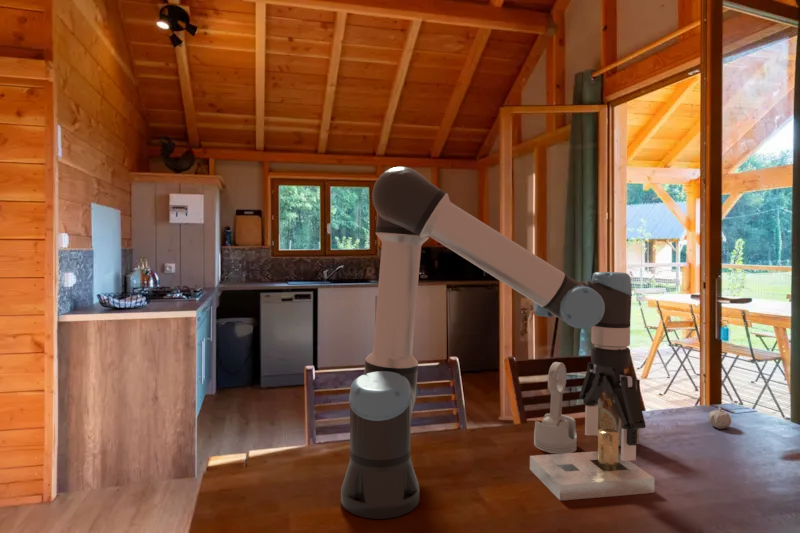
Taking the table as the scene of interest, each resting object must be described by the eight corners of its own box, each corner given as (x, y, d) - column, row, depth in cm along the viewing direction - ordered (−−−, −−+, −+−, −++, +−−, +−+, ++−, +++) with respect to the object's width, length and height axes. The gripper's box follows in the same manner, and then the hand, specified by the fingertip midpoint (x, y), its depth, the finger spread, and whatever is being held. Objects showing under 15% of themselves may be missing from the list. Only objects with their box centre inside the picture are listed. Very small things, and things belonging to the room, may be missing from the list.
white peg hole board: (559, 500, 97) (560, 485, 96) (529, 469, 110) (529, 455, 110) (654, 492, 100) (654, 477, 100) (613, 463, 113) (613, 450, 113)
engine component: (527, 447, 123) (568, 457, 117) (528, 364, 122) (569, 370, 116) (544, 434, 131) (583, 443, 125) (545, 356, 131) (584, 361, 125)
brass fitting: (604, 483, 103) (604, 435, 103) (593, 475, 107) (594, 429, 107) (621, 482, 104) (622, 434, 104) (610, 474, 108) (611, 428, 108)
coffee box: (640, 443, 125) (641, 379, 124) (622, 448, 122) (623, 382, 122) (611, 431, 133) (612, 371, 133) (593, 435, 131) (594, 374, 130)
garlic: (712, 422, 141) (712, 403, 141) (734, 427, 137) (734, 408, 137) (704, 427, 137) (704, 408, 137) (726, 432, 133) (727, 413, 133)
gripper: (667, 358, 93) (665, 471, 94) (594, 335, 118) (593, 425, 118) (630, 359, 92) (628, 473, 93) (564, 336, 117) (563, 426, 117)
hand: (608, 446), depth 105 cm, fingers open, 13 cm apart
